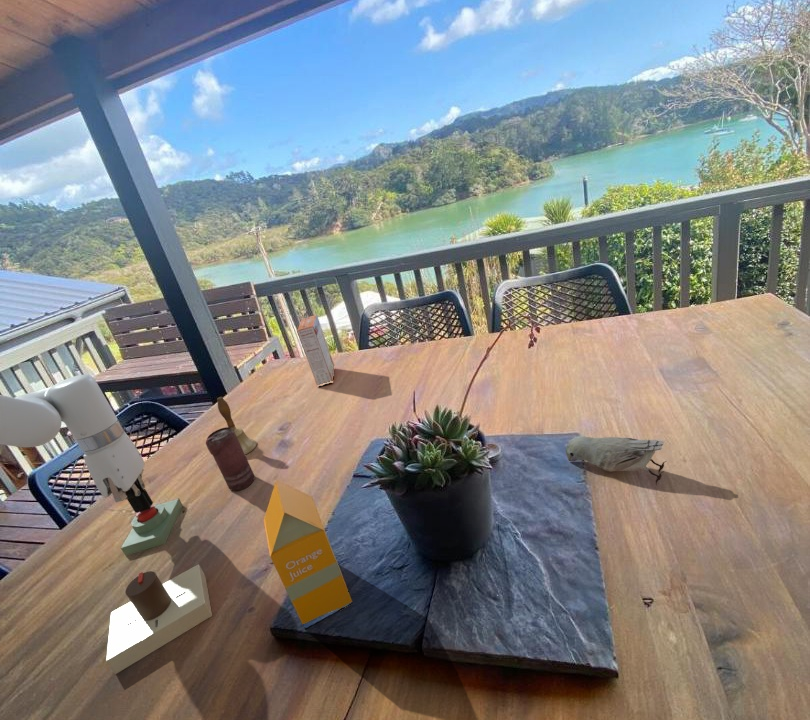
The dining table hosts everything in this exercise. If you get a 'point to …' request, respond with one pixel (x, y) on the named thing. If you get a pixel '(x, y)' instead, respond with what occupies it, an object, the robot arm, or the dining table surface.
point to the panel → (158, 620)
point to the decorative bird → (615, 453)
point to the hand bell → (244, 441)
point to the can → (230, 458)
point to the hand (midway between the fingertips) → (144, 508)
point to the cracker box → (316, 349)
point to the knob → (148, 595)
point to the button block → (152, 528)
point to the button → (146, 514)
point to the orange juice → (303, 553)
